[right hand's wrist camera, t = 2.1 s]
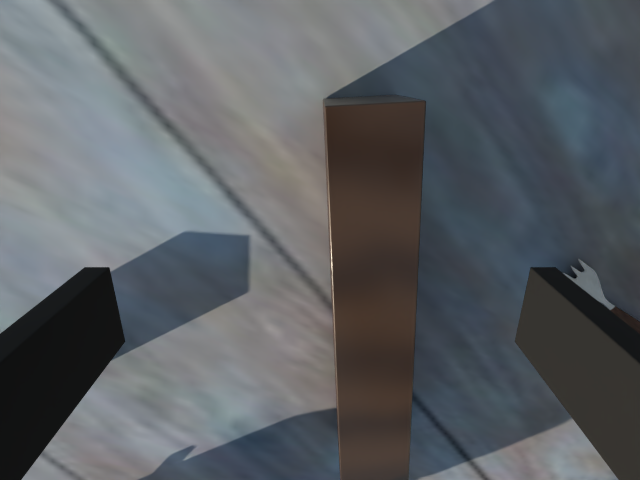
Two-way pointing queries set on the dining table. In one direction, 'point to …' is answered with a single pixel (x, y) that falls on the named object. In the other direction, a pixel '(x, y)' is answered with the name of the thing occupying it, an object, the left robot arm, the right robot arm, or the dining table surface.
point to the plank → (374, 275)
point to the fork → (600, 293)
